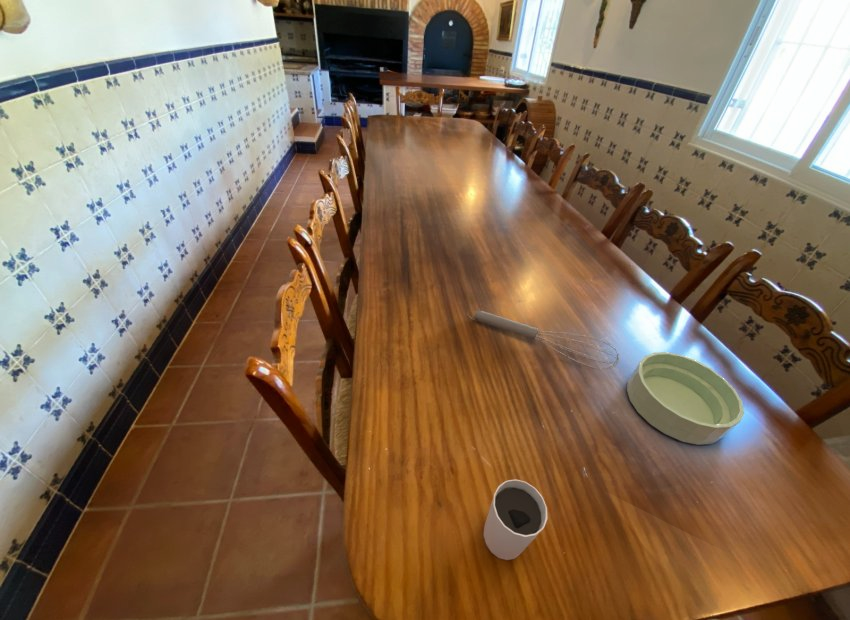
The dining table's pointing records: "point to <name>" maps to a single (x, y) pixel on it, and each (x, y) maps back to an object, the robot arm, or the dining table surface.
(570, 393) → the dining table surface
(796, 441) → the dining table surface
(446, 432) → the dining table surface
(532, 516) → the white coffee cup
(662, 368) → the bowl
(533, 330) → the kitchen whisk
